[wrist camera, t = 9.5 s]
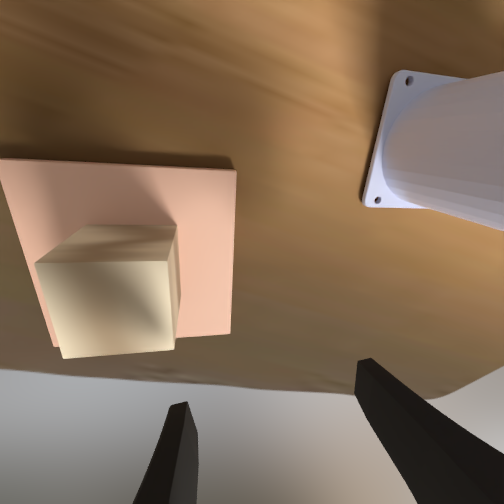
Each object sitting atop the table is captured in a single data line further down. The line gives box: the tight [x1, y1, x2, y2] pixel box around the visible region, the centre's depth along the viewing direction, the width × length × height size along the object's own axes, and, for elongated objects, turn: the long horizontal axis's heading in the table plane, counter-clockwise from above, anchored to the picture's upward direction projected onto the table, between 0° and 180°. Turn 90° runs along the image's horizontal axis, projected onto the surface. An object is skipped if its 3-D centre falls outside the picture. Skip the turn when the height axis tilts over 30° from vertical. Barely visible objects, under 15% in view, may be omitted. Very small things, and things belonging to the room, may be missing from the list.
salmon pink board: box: [0, 158, 237, 347], centre depth 16 cm, size 12×12×1 cm
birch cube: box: [34, 224, 181, 359], centre depth 14 cm, size 5×5×5 cm
